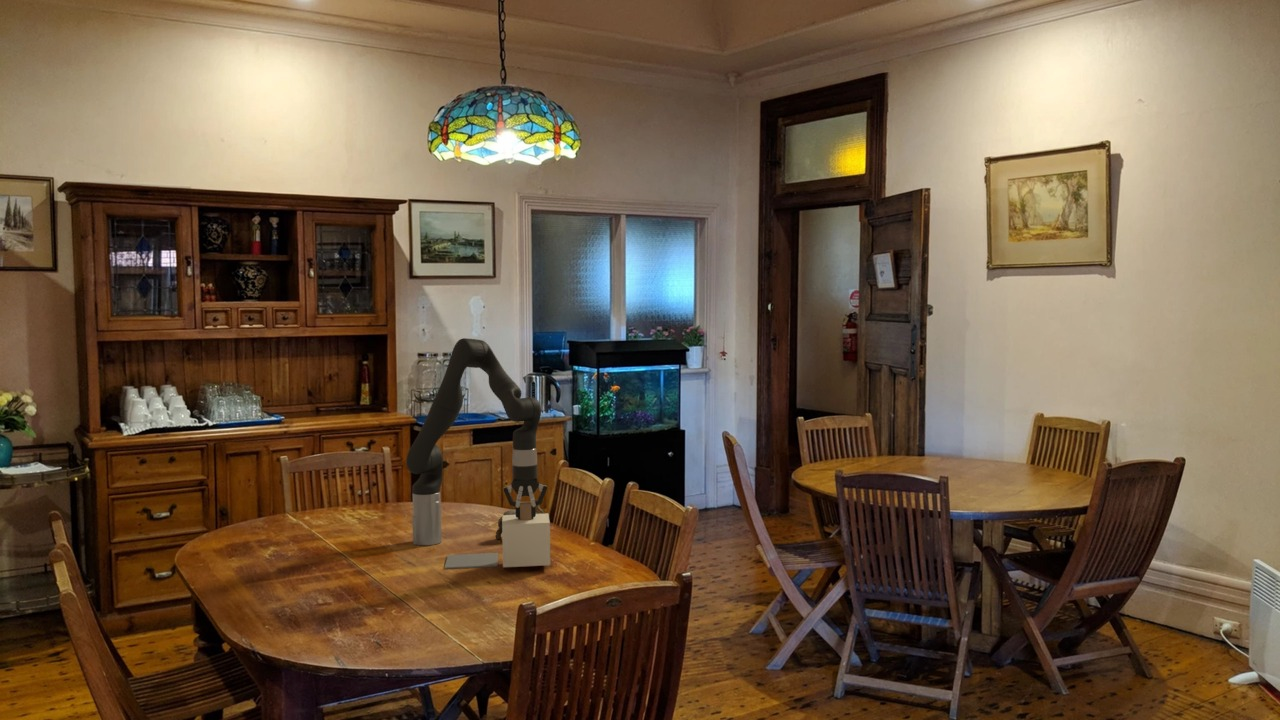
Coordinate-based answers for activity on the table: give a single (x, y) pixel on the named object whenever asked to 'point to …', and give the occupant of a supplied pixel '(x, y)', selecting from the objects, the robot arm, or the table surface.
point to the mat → (472, 560)
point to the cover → (526, 538)
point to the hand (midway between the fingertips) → (525, 518)
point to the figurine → (510, 512)
